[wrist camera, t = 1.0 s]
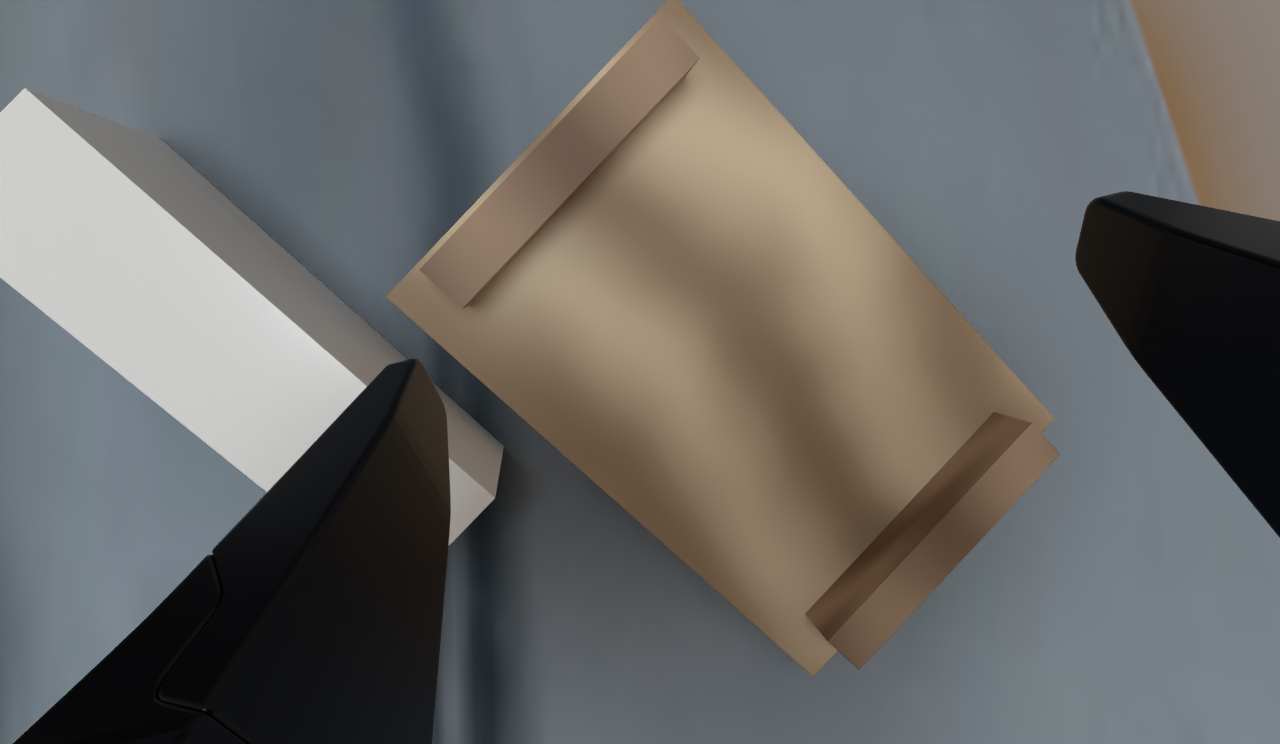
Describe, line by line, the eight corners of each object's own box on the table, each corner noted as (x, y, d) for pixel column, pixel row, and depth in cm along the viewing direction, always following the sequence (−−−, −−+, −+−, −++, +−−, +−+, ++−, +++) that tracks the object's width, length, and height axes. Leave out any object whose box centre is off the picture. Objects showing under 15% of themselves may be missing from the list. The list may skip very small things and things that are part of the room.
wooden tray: (802, 662, 27) (836, 709, 24) (391, 296, 23) (371, 298, 20) (1035, 413, 27) (1097, 429, 24) (667, 6, 23) (687, -34, 20)
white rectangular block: (430, 520, 24) (398, 597, 18) (80, 224, 22) (-91, 204, 16) (504, 444, 24) (495, 498, 18) (163, 140, 22) (24, 88, 16)
